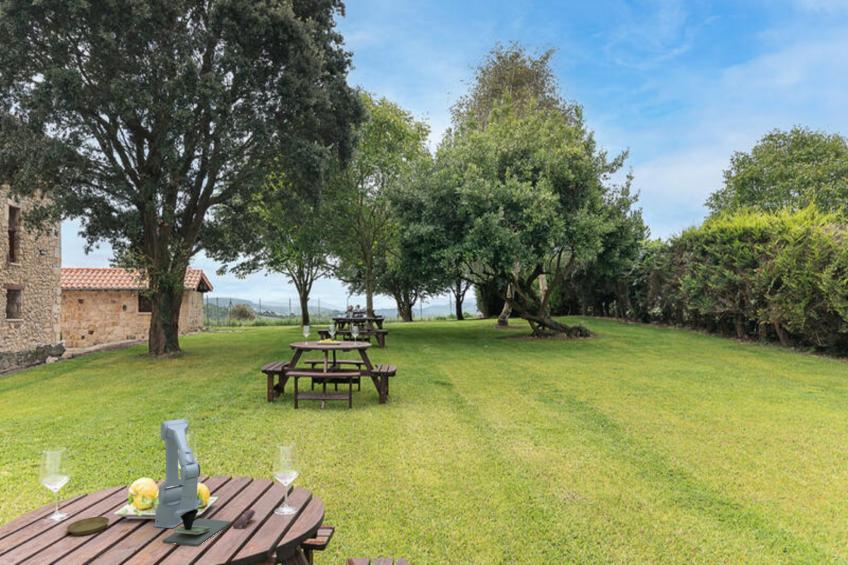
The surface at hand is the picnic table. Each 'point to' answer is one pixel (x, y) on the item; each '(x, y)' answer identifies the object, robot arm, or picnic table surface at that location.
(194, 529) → the tile
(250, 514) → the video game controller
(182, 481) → the robot arm
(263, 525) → the picnic table surface
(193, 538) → the board
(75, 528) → the plant saucer
